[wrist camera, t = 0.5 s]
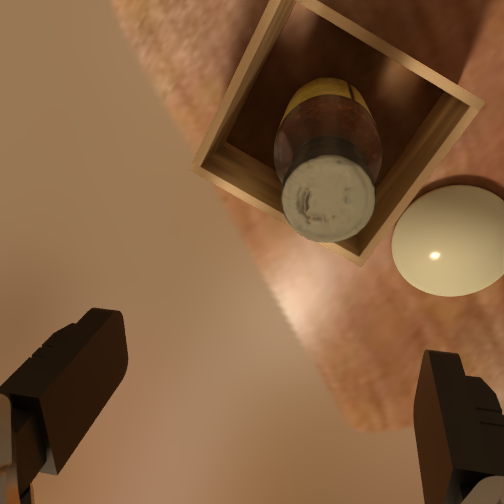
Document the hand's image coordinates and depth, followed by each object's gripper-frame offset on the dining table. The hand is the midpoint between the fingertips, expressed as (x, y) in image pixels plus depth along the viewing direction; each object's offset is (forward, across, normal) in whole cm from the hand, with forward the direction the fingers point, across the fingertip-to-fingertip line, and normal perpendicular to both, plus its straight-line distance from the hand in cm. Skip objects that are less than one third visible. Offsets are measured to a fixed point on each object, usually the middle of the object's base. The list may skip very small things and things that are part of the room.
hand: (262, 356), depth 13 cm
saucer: (+29, -11, +8) cm, 33 cm away
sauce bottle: (+29, 0, -2) cm, 29 cm away
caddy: (+29, 0, -2) cm, 29 cm away
